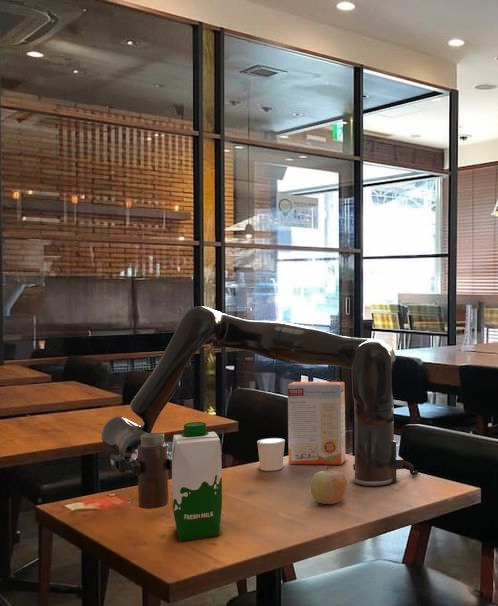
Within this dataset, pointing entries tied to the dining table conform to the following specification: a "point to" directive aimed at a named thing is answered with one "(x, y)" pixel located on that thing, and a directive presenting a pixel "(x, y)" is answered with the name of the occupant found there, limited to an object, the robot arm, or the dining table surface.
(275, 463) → the white cup
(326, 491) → the fruit
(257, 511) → the dining table surface
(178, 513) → the milk carton
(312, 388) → the cracker box
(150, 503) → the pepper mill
